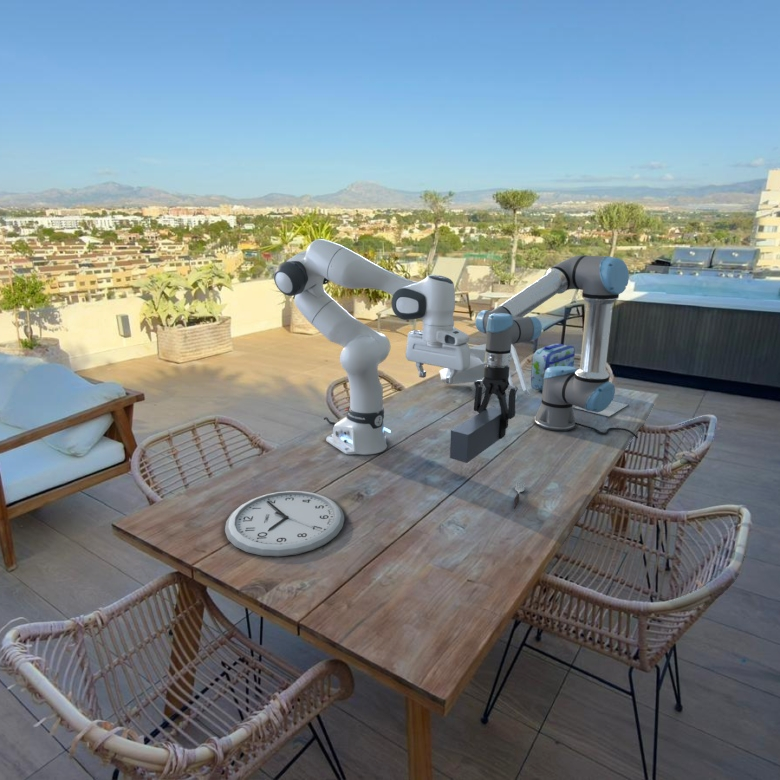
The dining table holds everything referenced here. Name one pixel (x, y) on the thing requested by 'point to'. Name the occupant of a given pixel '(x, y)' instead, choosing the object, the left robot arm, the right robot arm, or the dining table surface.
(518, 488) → the fork
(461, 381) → the white plastic object
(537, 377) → the lunch box
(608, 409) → the invitation card
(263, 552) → the wall clock
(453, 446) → the bar
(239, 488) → the dining table surface
